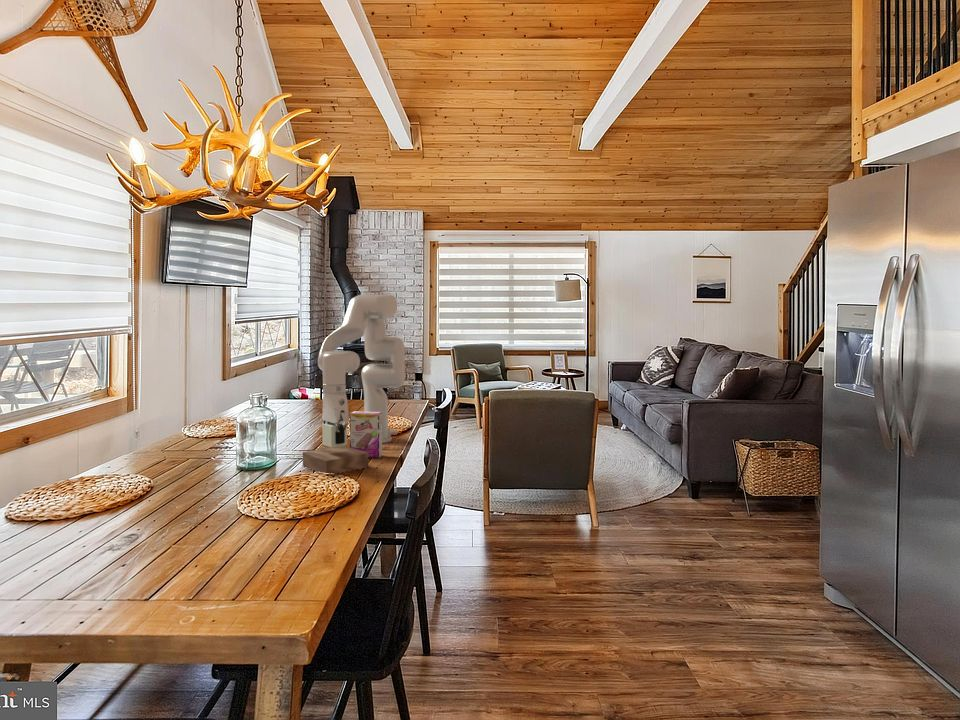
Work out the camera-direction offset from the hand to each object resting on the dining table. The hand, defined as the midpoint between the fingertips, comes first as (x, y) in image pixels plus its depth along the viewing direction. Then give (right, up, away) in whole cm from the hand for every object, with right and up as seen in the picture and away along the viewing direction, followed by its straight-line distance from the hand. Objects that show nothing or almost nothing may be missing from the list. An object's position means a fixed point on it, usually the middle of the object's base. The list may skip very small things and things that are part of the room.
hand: (335, 441), depth 215 cm
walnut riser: (0, -9, +1) cm, 9 cm away
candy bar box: (+8, -8, +17) cm, 20 cm away
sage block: (0, -1, 0) cm, 1 cm away
